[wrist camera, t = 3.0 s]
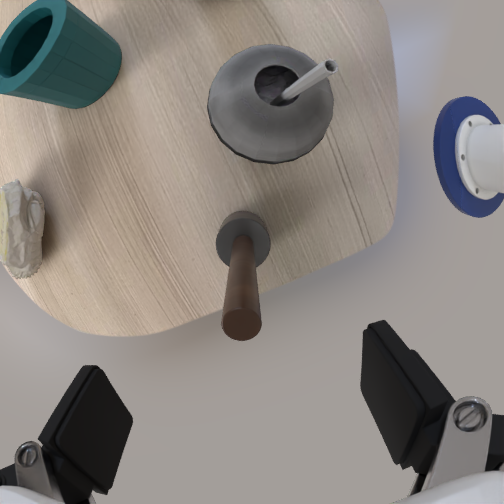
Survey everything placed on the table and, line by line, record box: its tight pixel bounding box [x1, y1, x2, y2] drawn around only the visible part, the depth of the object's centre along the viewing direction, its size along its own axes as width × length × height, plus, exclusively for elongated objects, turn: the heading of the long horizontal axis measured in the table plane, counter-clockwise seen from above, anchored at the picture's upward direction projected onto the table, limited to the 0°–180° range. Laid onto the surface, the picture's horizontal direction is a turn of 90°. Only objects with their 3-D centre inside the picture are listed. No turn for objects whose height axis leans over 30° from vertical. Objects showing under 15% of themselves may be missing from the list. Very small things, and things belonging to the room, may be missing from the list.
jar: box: [0, 0, 122, 109], centre depth 16 cm, size 10×10×12 cm
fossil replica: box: [0, 179, 45, 279], centre depth 23 cm, size 12×8×10 cm
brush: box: [216, 211, 270, 341], centre depth 20 cm, size 5×5×17 cm
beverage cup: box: [207, 44, 338, 164], centre depth 16 cm, size 7×7×20 cm
